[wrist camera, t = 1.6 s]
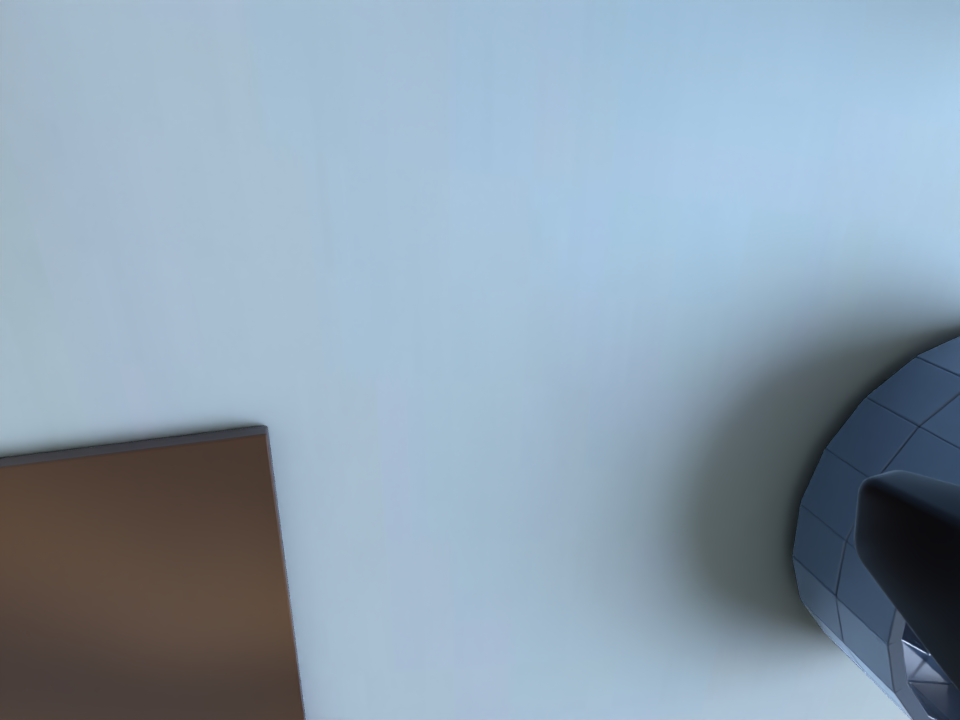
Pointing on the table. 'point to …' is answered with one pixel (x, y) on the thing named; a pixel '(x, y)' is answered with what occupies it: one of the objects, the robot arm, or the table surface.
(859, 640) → the bowl
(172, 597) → the coaster board
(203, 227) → the table surface
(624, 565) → the table surface
